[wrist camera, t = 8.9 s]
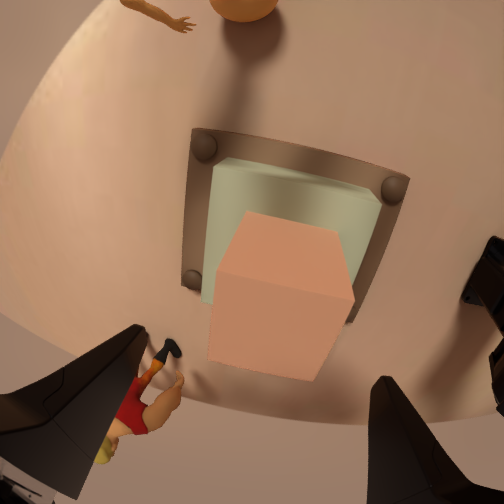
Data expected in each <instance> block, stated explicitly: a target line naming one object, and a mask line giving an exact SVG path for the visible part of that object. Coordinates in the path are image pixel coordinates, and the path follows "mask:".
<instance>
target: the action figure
mask: <svg viewBox="0 0 504 504" xmlns="http://www.w3.org/2000/svg"><path fill="white" fill-rule="evenodd" d="M146 337H147V333H146ZM169 351H170V352H171V353H172V355H173V356H174V357H175V358H179V357H180V356H181V351H180V350H179V348H178V347H177V346H176V344H175V343H174V341H173V340H172V339H168V338H167V339H166V340H165V344H164V347H163V348H162V349H161V350H160V351H159V352H158V353H157V354H156V356H155V357H154V358H153V361H152V364H151V367H150V369H149V370H147V371H146V372H145V373H144V374H143V375H142V377H141V378H138V370H139V367H138V370H137V372H136V375H135V378H134V380H133V382H132V384H131V386H130V388H129V390H128V392H127V394H126V396H125V398H124V400H123V402H122V404H121V406H120V408H119V410H118V412H117V414H116V416H115V418H114V420H113V422H112V424H111V426H110V428H109V430H108V432H107V434H106V437H105V439H104V441H103V443H102V445H101V447H100V449H99V451H98V454H97V456H96V458H95V460H94V462H96V463H98V464H105V463H107V462H109V461H110V459H111V457H112V456H114V452H115V450H116V449H117V445H118V442H119V439H118V437H119V436H123V435H127V434H135V435H141V434H148V432H151V431H154V430H156V429H158V428H160V427H162V425H163V424H164V423H165V421H166V420H167V419H168V418H169V416H170V414H171V412H172V411H173V410H175V409H176V408H177V407H178V406H179V405H180V401H181V388H182V386H183V384H184V377H183V375H182V374H181V373H180V372H179V371H176V375H177V376H176V379H177V382H175V385H174V386H173V387H169V389H168V390H166V391H164V392H163V393H161V394H160V395H159V396H158V397H157V398H156V399H155V401H154V403H153V404H152V405H150V406H148V405H146V404H144V403H143V402H141V401H140V397H141V395H142V393H143V391H144V389H145V388H146V387H147V385H148V384H149V382H150V381H151V379H152V377H153V376H154V375H155V374H156V373H157V372H158V371H159V370H160V369H161V368H162V367H163V365H165V362H166V359H167V355H168V353H169Z"/></svg>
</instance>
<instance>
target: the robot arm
mask: <svg viewBox="0 0 504 504" xmlns="http://www.w3.org/2000/svg"><path fill="white" fill-rule="evenodd" d="M494 241H495V243H494ZM462 300H463V301H464V302H465V303H469V304H474V305H479V306H483V307H485V308H486V310H487V311H488V313H489V315H490V316H491V318H492V319H493V321H494V323H495V324H496V326H497V327H498V329H499V331H500V332H501V334H502V336H503V339H502V340H501V342H500V343H499V345H498V346H497V348H496V349H495V350H494V352H492V353H491V354H490V356H489V363H490V369H491V376H492V390H493V393H494V397H495V401H496V403H497V404H498V406H497V407H496V410H497V411H498V412H499V413H500V414H501V415H502V416H503V417H504V239H501V238H499V237H497V236H492V237H491V238H490V240H489V243H488V245H487V247H486V249H485V251H484V254H483V256H482V258H481V260H480V262H479V264H478V266H477V268H476V270H475V272H474V274H473V276H472V278H471V280H470V282H469V284H468V286H467V287H466V289H465V291H464V293H463V295H462ZM146 346H147V337H146V329H145V327H144V326H141V325H138V324H133V325H132V326H130V327H128V328H127V329H125V330H123V331H122V332H120V333H118V334H117V335H115V336H113V337H112V338H110V339H108V340H107V341H105V342H103V343H102V344H100V345H98V346H97V347H95V348H94V349H92V350H90V351H89V352H87V353H85V354H84V355H82V356H80V357H79V358H77V359H75V360H74V361H72V362H70V363H69V364H67V365H65V367H62V368H60V369H59V370H57V371H55V372H54V373H52V374H50V375H48V376H47V377H44V378H42V379H40V380H38V381H37V382H34V383H32V384H30V385H28V386H25V387H23V388H21V389H19V390H16V391H14V392H12V393H8V394H0V504H55V502H54V497H55V495H56V493H57V491H58V492H60V493H62V494H64V495H66V496H68V497H70V498H72V499H75V500H77V499H78V497H79V494H80V492H81V490H82V487H83V485H84V483H85V480H86V478H87V476H88V474H89V471H90V469H91V467H92V465H93V461H94V460H95V458H96V456H97V454H98V451H99V449H100V447H101V445H102V443H103V441H104V439H105V437H106V434H107V432H108V430H109V428H110V426H111V424H112V422H113V420H114V418H115V416H116V414H117V412H118V410H119V408H120V406H121V404H122V402H123V400H124V398H125V396H126V394H127V392H128V390H129V388H130V386H131V384H132V382H133V380H134V378H135V375H136V372H137V370H138V367H139V364H140V362H141V359H142V356H143V354H144V351H145V349H146ZM368 447H369V448H368V455H369V456H368V489H367V504H504V491H500V490H495V489H491V488H487V487H484V486H480V485H477V484H474V483H472V482H471V481H470V480H468V479H467V478H466V477H465V475H464V474H463V473H462V472H461V471H460V470H459V468H458V467H457V466H456V465H455V463H454V462H453V461H452V460H451V458H450V457H449V456H448V455H447V453H446V452H445V451H444V449H443V448H442V446H441V445H440V444H439V442H438V441H437V440H436V438H435V436H434V435H433V433H432V432H431V431H430V429H429V428H428V426H427V425H426V423H425V422H424V421H423V419H422V418H421V416H420V415H419V414H418V412H417V411H416V409H415V408H414V407H413V405H412V404H411V402H410V401H409V400H408V398H407V397H406V395H405V394H404V393H403V391H402V390H401V389H400V387H399V386H398V385H397V383H396V382H395V380H394V379H393V378H392V377H391V376H384V375H383V376H381V377H380V378H379V379H378V380H377V382H376V383H375V384H374V385H373V387H372V389H371V393H370V408H369V421H368Z"/></svg>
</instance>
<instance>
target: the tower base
mask: <svg viewBox="0 0 504 504" xmlns="http://www.w3.org/2000/svg"><path fill="white" fill-rule="evenodd" d="M409 181H410V178H409V177H408V176H406V175H404V174H402V173H399V172H396V171H393V170H390V169H387V168H384V167H380V166H377V165H374V164H371V163H367V162H364V161H361V160H357V159H354V158H350V157H347V156H343V155H339V154H335V153H332V152H328V151H324V150H320V149H316V148H311V147H307V146H303V145H298V144H294V143H289V142H284V141H279V140H274V139H269V138H263V137H258V136H252V135H246V134H240V133H233V132H226V131H219V130H211V129H203V128H194V129H192V133H191V142H190V151H189V161H188V171H187V182H186V195H185V209H184V225H183V244H182V271H181V286H185V287H187V288H189V289H191V290H200V291H201V302H203V303H207V304H211V305H213V297H214V288H215V279H216V270H217V268H218V266H219V264H220V262H221V260H222V258H223V256H224V254H225V252H226V250H227V248H228V246H229V244H230V242H231V240H232V238H233V236H234V234H235V232H236V230H237V228H238V226H239V224H240V223H241V221H242V219H243V217H244V215H245V213H246V211H249V212H254V213H258V214H263V215H268V216H272V217H277V218H281V219H286V220H290V221H294V222H299V223H303V224H307V225H312V226H316V227H320V228H324V229H328V230H332V231H336V232H338V235H339V239H340V242H341V246H342V250H343V253H344V257H345V261H346V265H347V269H348V273H349V277H350V281H351V285H352V290H353V294H354V298H355V302H354V304H353V306H352V308H351V311H350V313H349V315H348V317H347V319H346V321H345V322H351V323H353V321H354V319H355V317H356V315H357V313H358V311H359V309H360V307H361V304H362V302H363V300H364V298H365V296H366V294H367V292H368V289H369V287H370V285H371V283H372V280H373V278H374V276H375V273H376V271H377V269H378V266H379V264H380V262H381V259H382V257H383V254H384V252H385V249H386V247H387V244H388V242H389V239H390V236H391V234H392V231H393V228H394V226H395V223H396V220H397V217H398V214H399V212H400V209H401V206H402V203H403V200H404V197H405V193H406V190H407V187H408V184H409Z"/></svg>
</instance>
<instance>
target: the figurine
mask: <svg viewBox="0 0 504 504" xmlns="http://www.w3.org/2000/svg"><path fill="white" fill-rule="evenodd" d="M120 2H121V3H122V4H123V5H124V6H125V7H127V8H130V9H133V10H136V11H139V12H141V13H143V14H145V15H147V16H149V17H151V18H153V19H155V20H157V21H160V22H162V23H164V24H166V25H167V26H169V27H170V28H172V29H173V30H175V31H178V32H181V33H187V32H186V31H183V30H188V31H192V30H193V29H191V28H187V27H186V26H195V25H196V24H192V23H187V22H184V20H186V19H189V18H190V17H182V18H180V19H173V18H172V17H170V16H169V15H168V14H167V13H165V12H164V11H163V10H161V9H159V8H158V7H156V6H153V5H151V4H149V3H147V2H145V1H144V0H120ZM277 2H278V0H210V3H211V5H212V7H213V8H214V10H215V11H216V12H217V13H218V14H220V15H221V16H222V17H224V18H226V19H229V20H232V21H236V22H251V21H255V20H258V19H261V18H263V17H265V16H266V15H268V14H269V13H270V12H271V11H272V10H273V9H274V8H275V6H276V5H277Z"/></svg>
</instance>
